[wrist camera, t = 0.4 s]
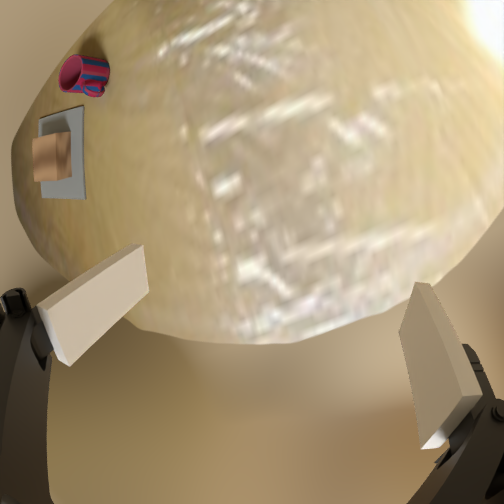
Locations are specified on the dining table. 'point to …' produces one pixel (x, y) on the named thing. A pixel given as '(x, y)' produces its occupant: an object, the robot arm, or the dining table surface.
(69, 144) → the base block
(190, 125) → the dining table surface
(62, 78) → the mug
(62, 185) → the mat
